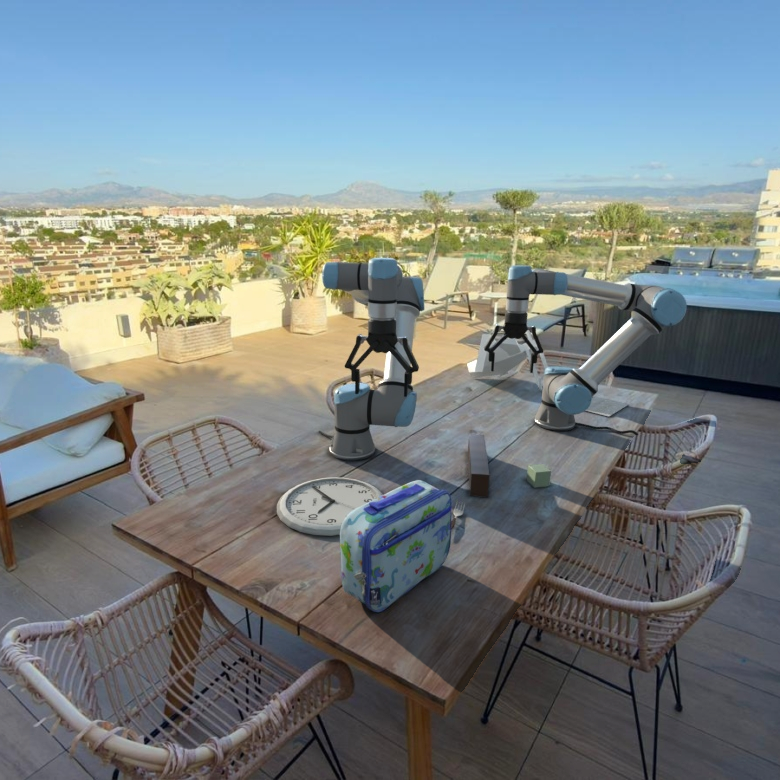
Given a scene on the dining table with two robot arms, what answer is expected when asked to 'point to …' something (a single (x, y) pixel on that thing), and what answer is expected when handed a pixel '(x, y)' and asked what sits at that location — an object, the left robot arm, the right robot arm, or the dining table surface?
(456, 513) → the fork
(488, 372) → the white plastic object
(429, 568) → the lunch box
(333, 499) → the wall clock
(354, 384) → the left robot arm
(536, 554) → the dining table surface
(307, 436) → the dining table surface
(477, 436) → the walnut block
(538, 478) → the sage block
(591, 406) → the invitation card
